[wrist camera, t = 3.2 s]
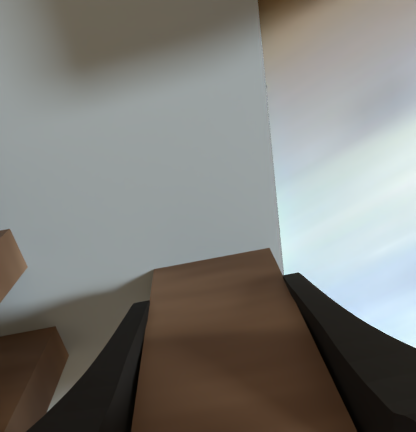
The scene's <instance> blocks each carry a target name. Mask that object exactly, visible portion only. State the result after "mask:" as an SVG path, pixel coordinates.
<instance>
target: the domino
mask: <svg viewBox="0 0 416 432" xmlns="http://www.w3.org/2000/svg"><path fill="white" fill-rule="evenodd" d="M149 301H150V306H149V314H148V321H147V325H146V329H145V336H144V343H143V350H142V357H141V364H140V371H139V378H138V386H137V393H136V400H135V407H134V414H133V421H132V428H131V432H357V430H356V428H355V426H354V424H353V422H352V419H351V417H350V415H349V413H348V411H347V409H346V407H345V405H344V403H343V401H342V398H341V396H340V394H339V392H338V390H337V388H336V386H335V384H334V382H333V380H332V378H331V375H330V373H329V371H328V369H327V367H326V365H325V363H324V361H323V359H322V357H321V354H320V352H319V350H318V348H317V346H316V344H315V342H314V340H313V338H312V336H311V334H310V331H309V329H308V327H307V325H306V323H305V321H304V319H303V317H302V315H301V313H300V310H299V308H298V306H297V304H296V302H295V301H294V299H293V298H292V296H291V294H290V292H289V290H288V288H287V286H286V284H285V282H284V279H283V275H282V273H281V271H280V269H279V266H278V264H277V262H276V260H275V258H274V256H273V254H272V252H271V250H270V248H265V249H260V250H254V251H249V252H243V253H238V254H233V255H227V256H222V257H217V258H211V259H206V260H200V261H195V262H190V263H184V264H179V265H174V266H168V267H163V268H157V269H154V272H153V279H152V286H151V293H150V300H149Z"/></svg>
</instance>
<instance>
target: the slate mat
mask: <svg viewBox="0 0 416 432" xmlns="http://www.w3.org/2000/svg"><path fill="white" fill-rule="evenodd" d="M6 229H10V230H11V232H12V234H13V236H14V239H15V241H16V243H17V245H18V247H19V249H20V251H21V254H22V256H23V258H24V260H25V262H26V264H27V266H28V268H27V269H26V270H25V272H24V273H23V274H22V275H21V277H20V278H19V279H18V281H17V282H16V283H15V285H14V286H13V287H12V288H11V290H10V291H9V292H8V294H7V295H6V296H5V298H4V299H3V300H2V302H1V303H0V336H6V335H11V334H16V333H22V332H27V331H33V330H38V329H43V328H49V327H54V326H56V328H57V331H58V333H59V335H60V337H61V339H62V341H63V343H64V346H65V348H66V350H67V352H68V354H69V357H68V359H67V362H66V364H65V367H64V369H63V372H62V375H61V377H60V380H59V382H58V385H57V387H56V390H55V392H54V395H53V398H52V400H51V403H50V405H49V408H48V410H47V412H48V411H49V410H50V409H51V408H52V407H53V406H54V405H55V404H56V403H57V402H58V401H59V400H60V399H61V398H62V397H63V396H64V395H65V394H66V393H67V392H68V391H69V390H70V389H71V388H72V387H73V386H74V384H75V383H76V382H77V381H78V380H79V379H80V378H81V377H82V375H83V374H84V373H85V372H86V371H87V369H88V368H89V367H90V366H91V364H92V363H93V362H94V360H95V359H96V358H97V356H98V355H99V354H100V352H101V351H102V350H103V348H104V347H105V345H106V344H107V343H108V341H109V340H110V338H111V337H112V335H113V334H114V332H115V331H116V329H117V328H118V326H119V325H120V323H121V322H122V320H123V318H124V317H125V315H126V314H127V312H128V310H129V309H130V307H131V306H132V305H133V303H137V302H142V301H148V300H150V293H151V286H152V279H153V272H154V269H157V268H163V267H168V266H174V265H179V264H184V263H190V262H195V261H200V260H206V259H211V258H217V257H222V256H227V255H233V254H238V253H243V252H249V251H254V250H260V249H265V248H270V250H271V252H272V254H273V256H274V258H275V260H276V262H277V264H278V266H279V269H280V271H281V273H282V275H284V270H283V260H282V249H281V239H280V228H279V218H278V207H277V197H276V186H275V176H274V165H273V155H272V144H271V134H270V123H269V113H268V102H267V92H266V81H265V71H264V60H263V50H262V39H261V29H260V18H259V8H258V0H0V230H6Z"/></svg>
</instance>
